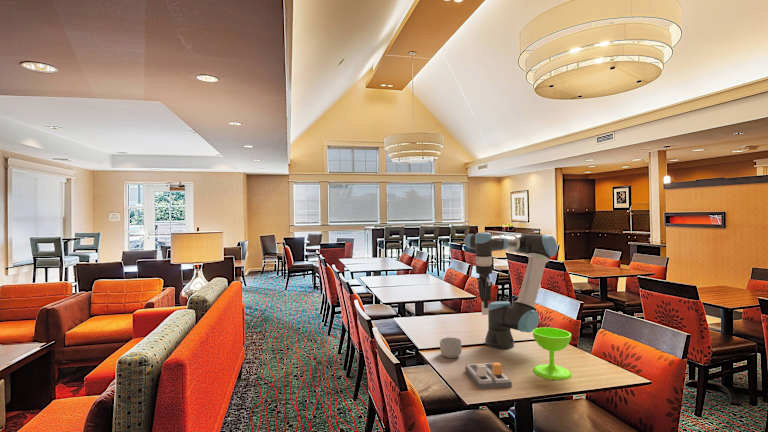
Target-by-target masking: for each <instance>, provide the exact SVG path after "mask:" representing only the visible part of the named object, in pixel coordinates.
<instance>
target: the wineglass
mask: <svg viewBox="0 0 768 432" xmlns="http://www.w3.org/2000/svg"><path fill="white" fill-rule="evenodd" d="M532 336H533V339H534V341H535V342H536V343H537V345H538V346H540V347H541V348H542V349H544V350H546V351H548V352H549V363H548V364H547V363H546V364H545V363H544V364H542V363H541V364H538V365H535V366H534V367H533V369H532V371H533V373H534V374H535V375H536V376H538V377H541V378H544V379H547V380H552V379H555V380H554V381H561V380H560V379H566V380H569V379H571V378H572V377H571V375H572V372H571V371H570V370H568V369H567V368H565V367H562V366H561V365H556V364H555V352H560V351H562V350H564V349H565V348H567V346H569V344H570V342H571V340H572V333H571V332H569V331H568V330H564V329H561V328H556V327H546V326H545V327H536V329H534V330H533V331H532ZM570 377H571V378H570ZM568 378H569V379H568Z"/></svg>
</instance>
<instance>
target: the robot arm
mask: <svg viewBox="0 0 768 432" xmlns="http://www.w3.org/2000/svg"><path fill="white" fill-rule="evenodd" d="M463 243H464V246H465V247H466V249H469V250H470V249H471V250H475V258H474V261H475V265H476V266H475V273H476V274H478V277H477V278H476V280H477V286H478V296H479V299H480V300H481V316H488V317H487V319H488V321H487V322H488V327H487V328H488V329H487V332H486V336H485V338H484V341H485V345H487V346H488V347H491V348H494V349H500V350H501V349H511V348H513V347H514V346H515V340H514V338H513V335H512V331H511V330H514V331H515V330H516V331H519V332H521V333H528V334H529V333H533V330H534V329H536V328H538V325H539V322H540V318H539V317H540V316H539V313H538V311H537V307H536V300H537V297H538V294H539V293H538V292H539V289H540V286H541V283H542V279H543V274H544V271H545V269H546V264H547V263H549V262H550V260H551V258H553V257H554V256H556V255H557V253H558V244H557V241H556V239H555V237H554V236H553V235H551V234H545V233H542V234H539V233H537V234H536V233H523V234H511V235H508V236H506V235H503V234H497V235H493V234H492V233H491V232H483V231H482V232H476V233H475V234H472V233H471V234H467V235H466V236H465V237H464V242H463ZM498 251H508V252H513V253H519V254H523V255H526V256H527V257H528V263H527V265H526V269H525V273H524V276H523V281H522V282H521V283H522V284H521V288H520V291H519V294H518V298H517V300H514V302H513V304H512V305H511V302H510V301H506V300H503V301H501V300H500V301H491V295H492V285H493V281H490V280H491V278H490V275H491V274H492V273H493V254H492V253H493V252H498ZM490 301H491V302H490ZM489 302H490V303H489Z"/></svg>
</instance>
